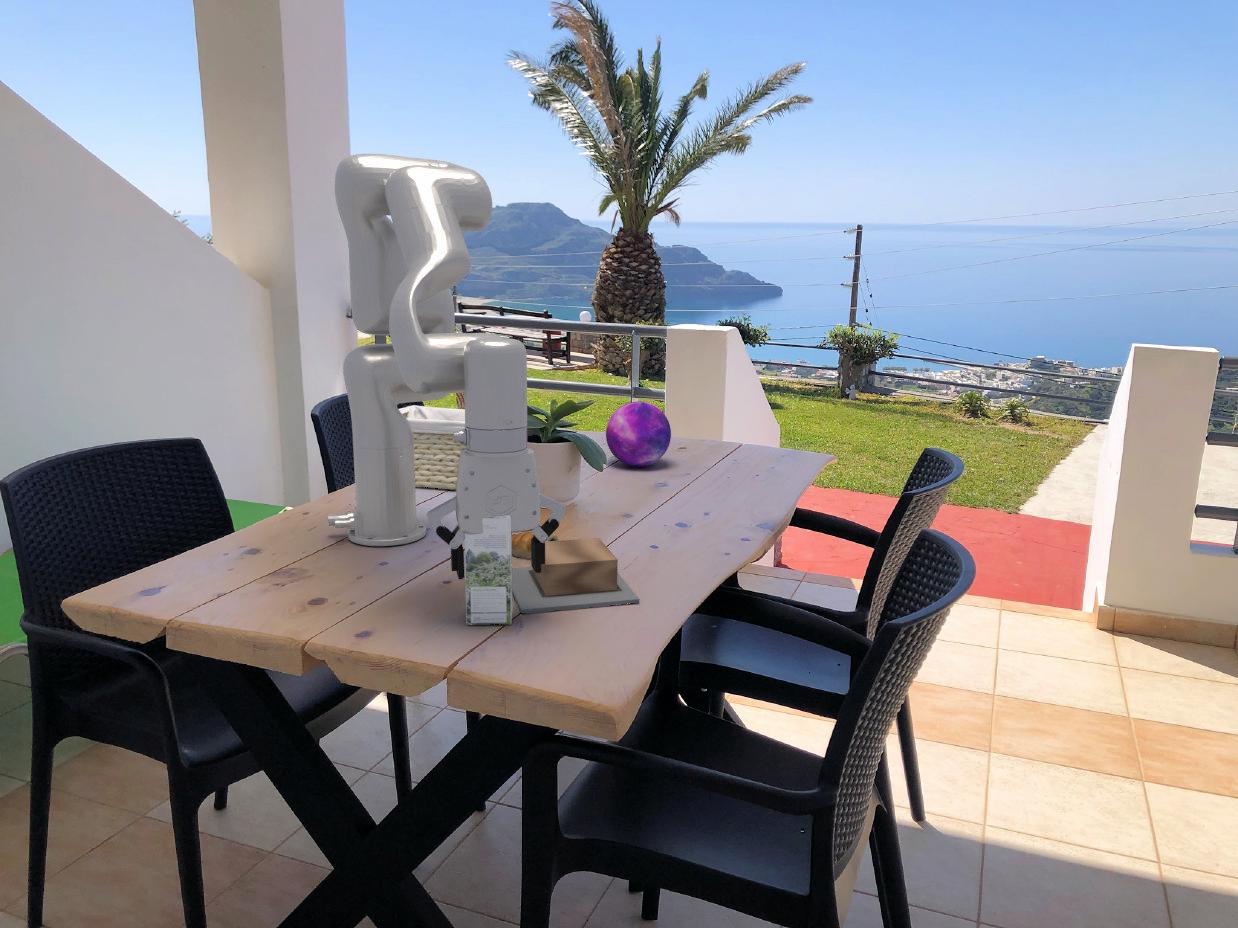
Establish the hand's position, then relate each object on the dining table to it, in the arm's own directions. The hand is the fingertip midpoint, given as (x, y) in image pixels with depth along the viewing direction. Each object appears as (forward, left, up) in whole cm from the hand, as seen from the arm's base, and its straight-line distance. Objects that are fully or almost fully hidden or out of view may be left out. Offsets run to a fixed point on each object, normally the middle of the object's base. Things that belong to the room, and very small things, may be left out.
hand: (498, 572), depth 107 cm
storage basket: (-1, +75, -6) cm, 75 cm away
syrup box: (-1, 0, -6) cm, 6 cm away
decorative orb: (+44, +81, -6) cm, 93 cm away
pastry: (+9, +24, -6) cm, 27 cm away
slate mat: (+11, +8, -6) cm, 15 cm away
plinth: (+12, +9, -6) cm, 16 cm away
